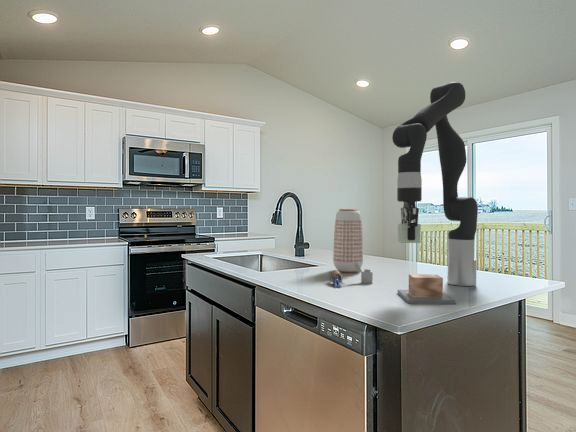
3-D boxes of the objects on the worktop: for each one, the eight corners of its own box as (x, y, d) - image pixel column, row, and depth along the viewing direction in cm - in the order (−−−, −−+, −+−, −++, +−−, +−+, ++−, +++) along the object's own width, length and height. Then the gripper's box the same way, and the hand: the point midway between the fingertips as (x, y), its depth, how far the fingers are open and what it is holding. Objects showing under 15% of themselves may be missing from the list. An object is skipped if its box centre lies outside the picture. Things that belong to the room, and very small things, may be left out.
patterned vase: (343, 274, 167) (344, 209, 166) (327, 270, 179) (328, 209, 178) (368, 272, 172) (369, 209, 172) (351, 268, 184) (352, 209, 184)
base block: (436, 292, 126) (437, 274, 126) (442, 297, 120) (442, 278, 120) (408, 292, 127) (408, 273, 127) (412, 296, 121) (413, 277, 121)
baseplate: (439, 293, 130) (439, 290, 130) (455, 304, 116) (455, 300, 116) (397, 293, 131) (397, 289, 131) (408, 303, 117) (408, 299, 117)
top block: (416, 241, 128) (416, 223, 128) (420, 242, 123) (420, 224, 123) (398, 241, 129) (398, 223, 128) (401, 242, 124) (401, 224, 123)
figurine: (345, 292, 140) (341, 281, 152) (345, 279, 139) (342, 268, 151) (330, 292, 140) (327, 281, 152) (330, 278, 139) (327, 268, 151)
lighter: (372, 282, 149) (372, 262, 149) (372, 283, 148) (372, 262, 148) (353, 281, 151) (354, 261, 151) (353, 282, 150) (353, 261, 149)
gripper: (427, 185, 118) (427, 241, 118) (415, 187, 132) (415, 237, 133) (402, 186, 118) (402, 241, 119) (393, 188, 133) (393, 237, 133)
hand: (409, 239), depth 126 cm, fingers closed on top block, 5 cm apart
